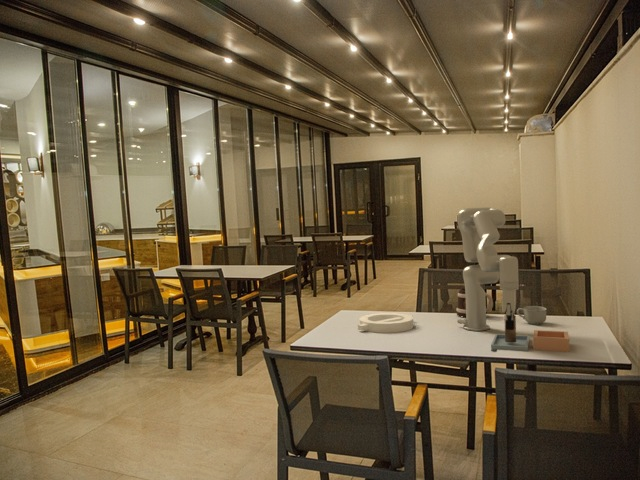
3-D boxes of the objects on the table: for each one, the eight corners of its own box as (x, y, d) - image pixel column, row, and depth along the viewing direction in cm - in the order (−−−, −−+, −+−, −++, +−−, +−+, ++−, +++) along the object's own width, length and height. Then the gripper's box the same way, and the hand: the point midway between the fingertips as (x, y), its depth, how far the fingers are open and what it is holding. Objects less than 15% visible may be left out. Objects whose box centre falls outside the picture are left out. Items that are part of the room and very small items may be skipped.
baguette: (504, 342, 207) (504, 316, 207) (505, 339, 211) (504, 314, 211) (515, 342, 205) (515, 317, 205) (516, 340, 209) (515, 315, 209)
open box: (533, 351, 198) (533, 336, 198) (534, 343, 210) (533, 330, 210) (569, 353, 193) (569, 338, 193) (568, 345, 205) (567, 331, 204)
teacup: (548, 322, 251) (547, 306, 251) (545, 326, 242) (544, 310, 242) (519, 320, 259) (519, 305, 258) (515, 324, 250) (515, 308, 249)
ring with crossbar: (413, 321, 269) (412, 312, 268) (413, 333, 241) (413, 323, 241) (362, 321, 274) (362, 313, 273) (357, 333, 246) (356, 323, 246)
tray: (491, 350, 202) (491, 344, 202) (495, 339, 220) (495, 334, 220) (527, 353, 196) (527, 347, 196) (529, 341, 214) (529, 335, 214)
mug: (455, 318, 271) (454, 291, 271) (457, 312, 285) (456, 287, 285) (493, 319, 264) (492, 291, 264) (493, 313, 279) (492, 287, 278)
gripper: (501, 282, 216) (502, 323, 217) (497, 288, 201) (499, 332, 202) (519, 283, 213) (520, 324, 214) (517, 288, 198) (518, 333, 199)
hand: (510, 327), depth 208 cm, fingers closed on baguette, 4 cm apart
